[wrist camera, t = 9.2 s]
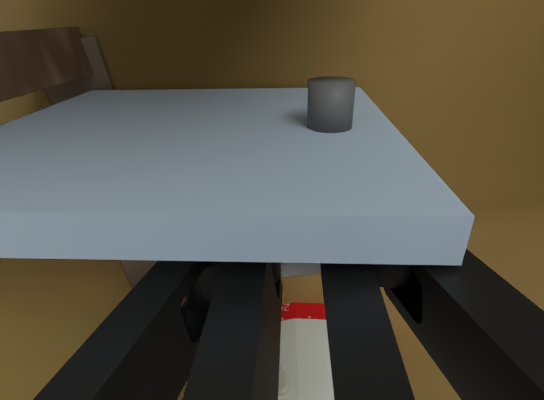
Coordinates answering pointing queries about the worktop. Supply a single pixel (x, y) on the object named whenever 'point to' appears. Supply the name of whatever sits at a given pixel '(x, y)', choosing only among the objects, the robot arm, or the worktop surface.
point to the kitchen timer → (304, 353)
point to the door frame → (58, 80)
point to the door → (224, 180)
